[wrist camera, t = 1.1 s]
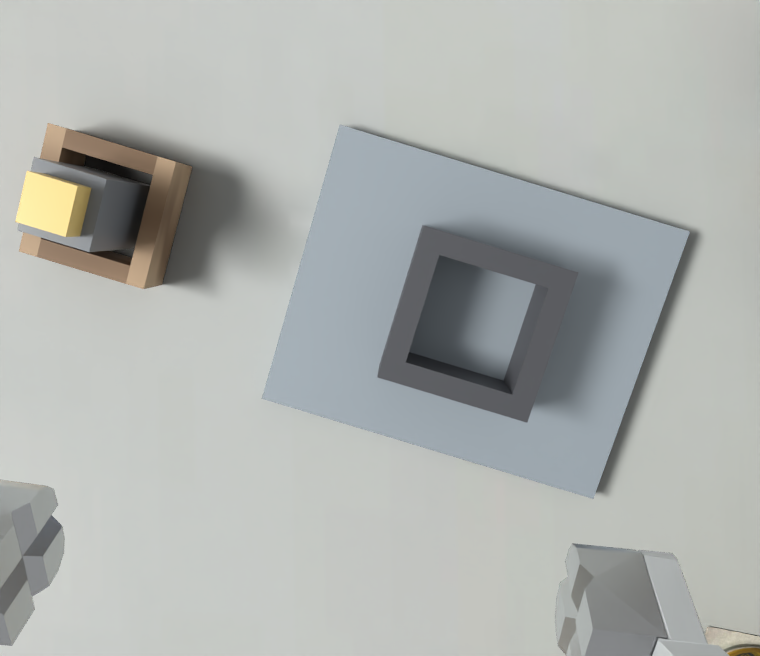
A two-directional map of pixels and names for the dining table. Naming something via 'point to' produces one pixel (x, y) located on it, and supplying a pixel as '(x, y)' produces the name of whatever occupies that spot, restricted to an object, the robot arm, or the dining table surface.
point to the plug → (81, 206)
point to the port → (471, 312)
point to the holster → (155, 221)
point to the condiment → (734, 642)
